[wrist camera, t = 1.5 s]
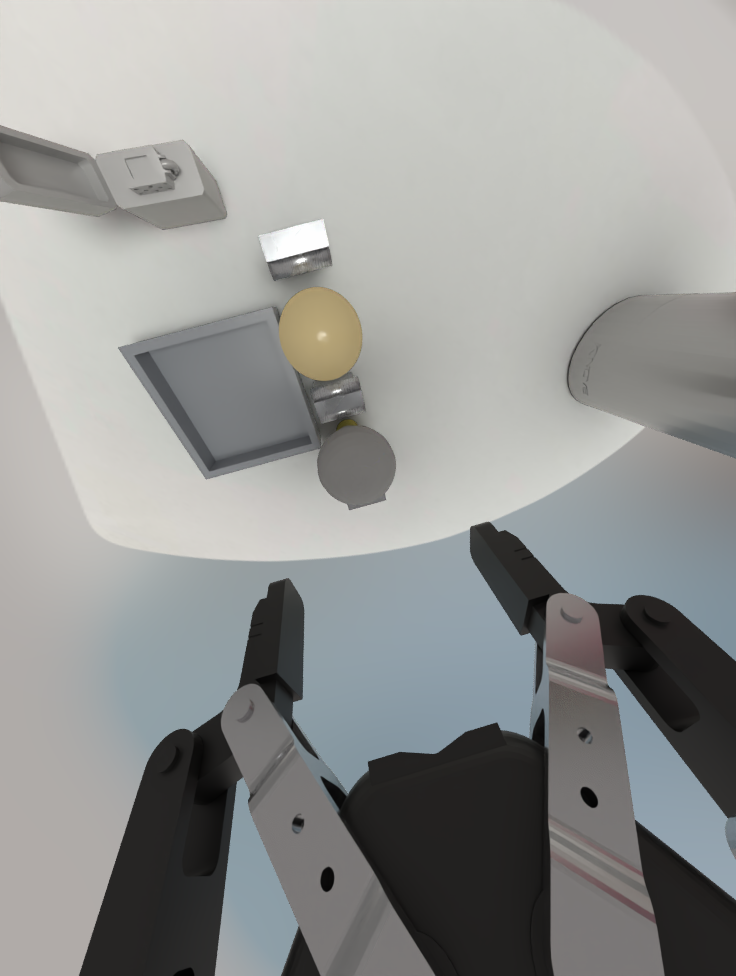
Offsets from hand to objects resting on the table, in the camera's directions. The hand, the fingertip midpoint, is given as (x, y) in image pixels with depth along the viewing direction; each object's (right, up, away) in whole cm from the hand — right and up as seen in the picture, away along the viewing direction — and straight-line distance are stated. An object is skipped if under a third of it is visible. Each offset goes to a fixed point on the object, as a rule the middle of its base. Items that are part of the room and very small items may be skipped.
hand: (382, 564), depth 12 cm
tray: (-11, +11, +10) cm, 19 cm away
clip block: (-4, +12, +11) cm, 17 cm away
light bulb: (-3, +9, +14) cm, 16 cm away
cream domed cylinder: (-4, +15, +9) cm, 18 cm away
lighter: (-13, +20, +4) cm, 24 cm away
